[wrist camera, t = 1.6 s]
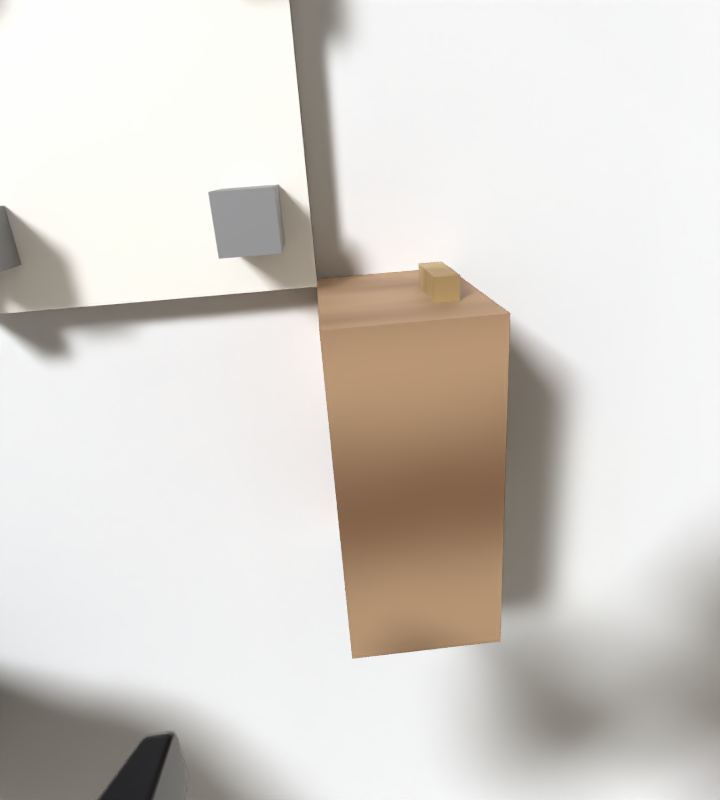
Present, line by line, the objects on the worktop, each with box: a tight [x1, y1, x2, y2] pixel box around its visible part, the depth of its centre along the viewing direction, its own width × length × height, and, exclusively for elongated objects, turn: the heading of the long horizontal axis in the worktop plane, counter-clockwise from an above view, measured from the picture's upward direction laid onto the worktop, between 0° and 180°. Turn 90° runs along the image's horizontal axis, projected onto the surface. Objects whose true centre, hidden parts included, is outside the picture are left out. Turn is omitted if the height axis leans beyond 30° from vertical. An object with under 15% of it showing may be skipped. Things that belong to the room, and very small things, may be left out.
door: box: [317, 262, 510, 659], centre depth 16 cm, size 10×4×6 cm, turn 4°
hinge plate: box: [0, 0, 317, 314], centre depth 13 cm, size 11×10×3 cm
